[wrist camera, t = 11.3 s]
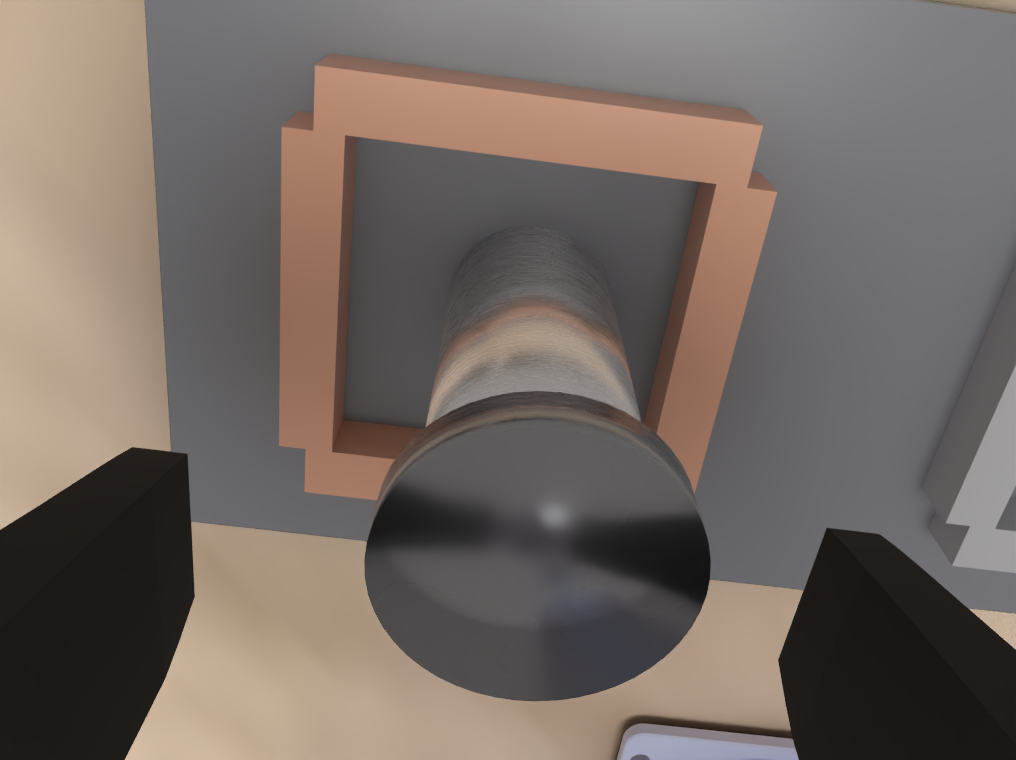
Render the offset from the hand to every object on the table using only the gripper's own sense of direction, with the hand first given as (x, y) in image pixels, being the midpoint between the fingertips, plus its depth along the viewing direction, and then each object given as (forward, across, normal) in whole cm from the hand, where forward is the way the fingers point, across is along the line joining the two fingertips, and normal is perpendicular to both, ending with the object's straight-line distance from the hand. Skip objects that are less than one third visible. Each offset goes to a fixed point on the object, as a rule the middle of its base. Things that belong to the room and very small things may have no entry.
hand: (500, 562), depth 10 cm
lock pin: (+7, 0, 0) cm, 7 cm away
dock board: (+8, -6, 0) cm, 11 cm away
